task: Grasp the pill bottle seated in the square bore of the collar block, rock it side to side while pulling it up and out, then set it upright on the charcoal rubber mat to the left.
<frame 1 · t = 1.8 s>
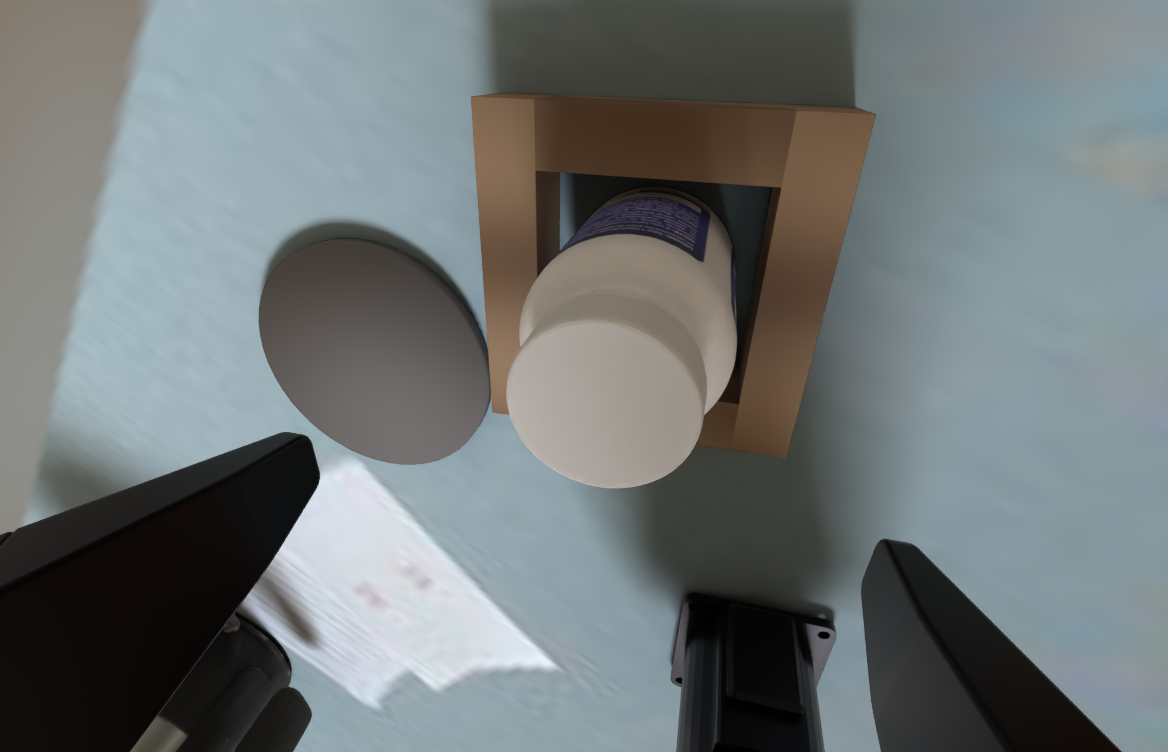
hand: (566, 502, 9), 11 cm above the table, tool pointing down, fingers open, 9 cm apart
collar block: (654, 268, 18), on the table
mat: (378, 358, 23), on the table
pill bottle: (654, 265, 18), resting in collar block
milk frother: (224, 606, 36), on the table
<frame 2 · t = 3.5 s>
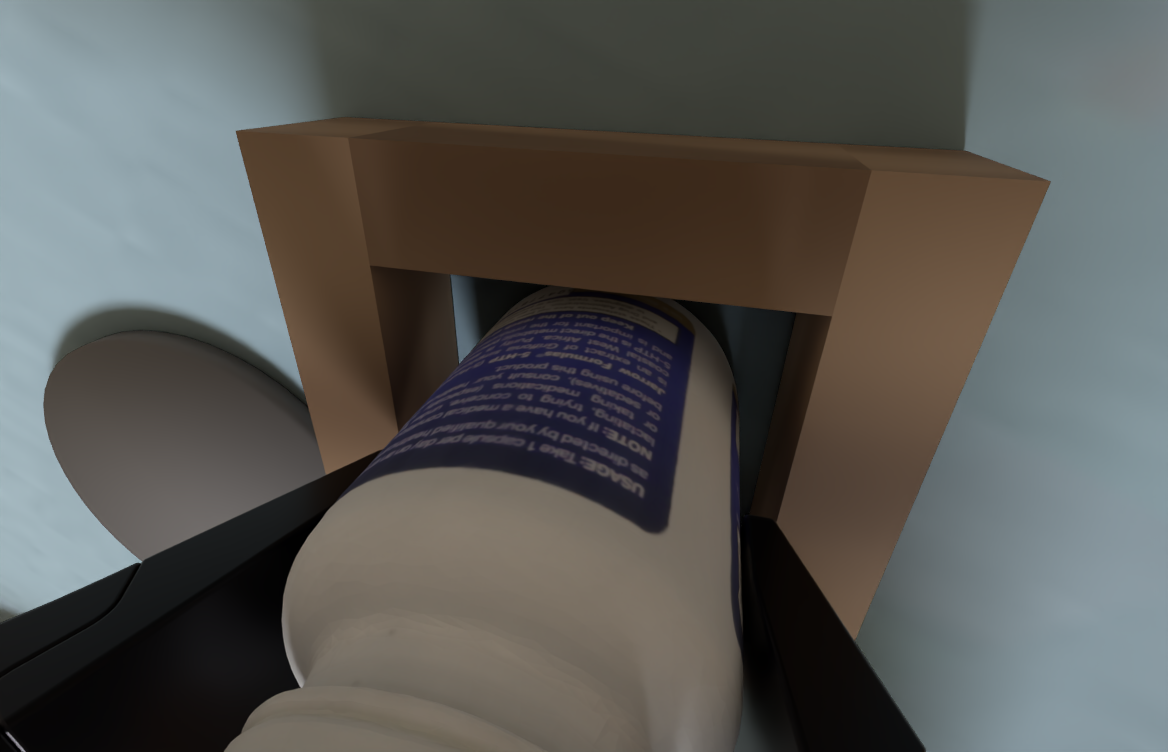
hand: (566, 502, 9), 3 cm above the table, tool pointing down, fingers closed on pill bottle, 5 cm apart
collar block: (606, 397, 11), on the table
mat: (223, 489, 16), on the table
pill bottle: (608, 392, 11), resting in collar block, touching gripper
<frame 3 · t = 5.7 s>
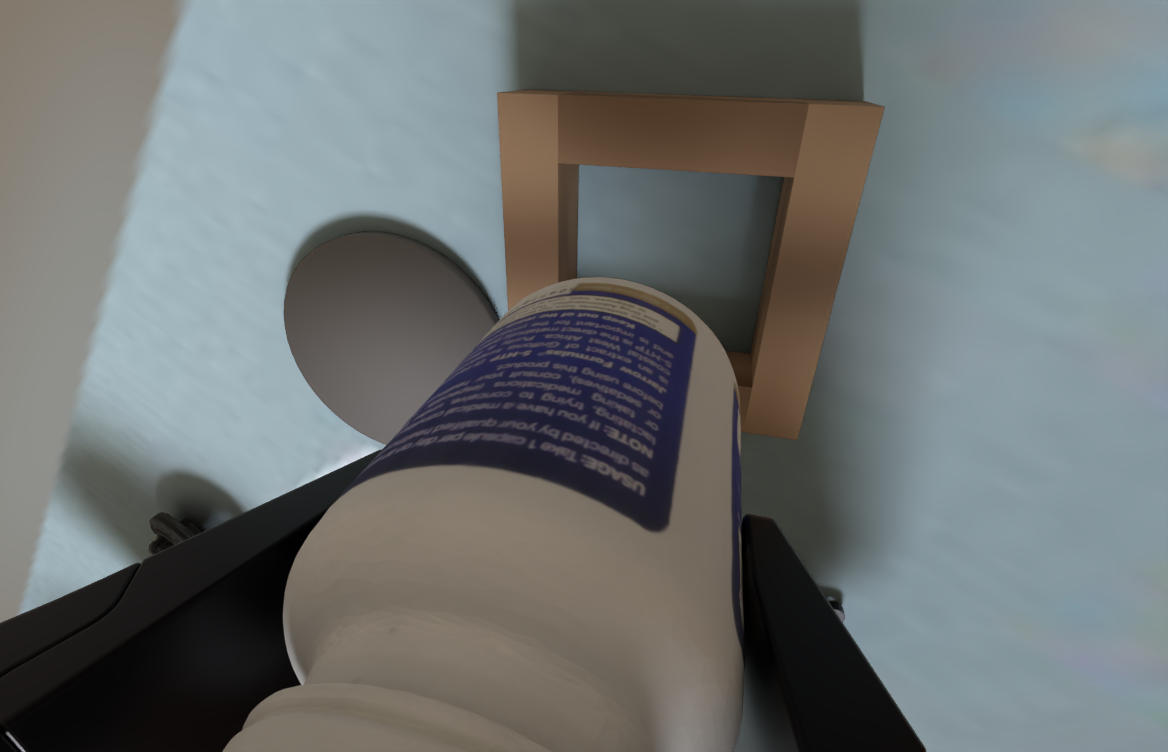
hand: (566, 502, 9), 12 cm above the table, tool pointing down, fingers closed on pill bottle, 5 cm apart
collar block: (668, 257, 19), on the table
mat: (399, 348, 24), on the table
pill bottle: (610, 391, 11), point 9 cm above the table, touching gripper
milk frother: (239, 593, 37), on the table
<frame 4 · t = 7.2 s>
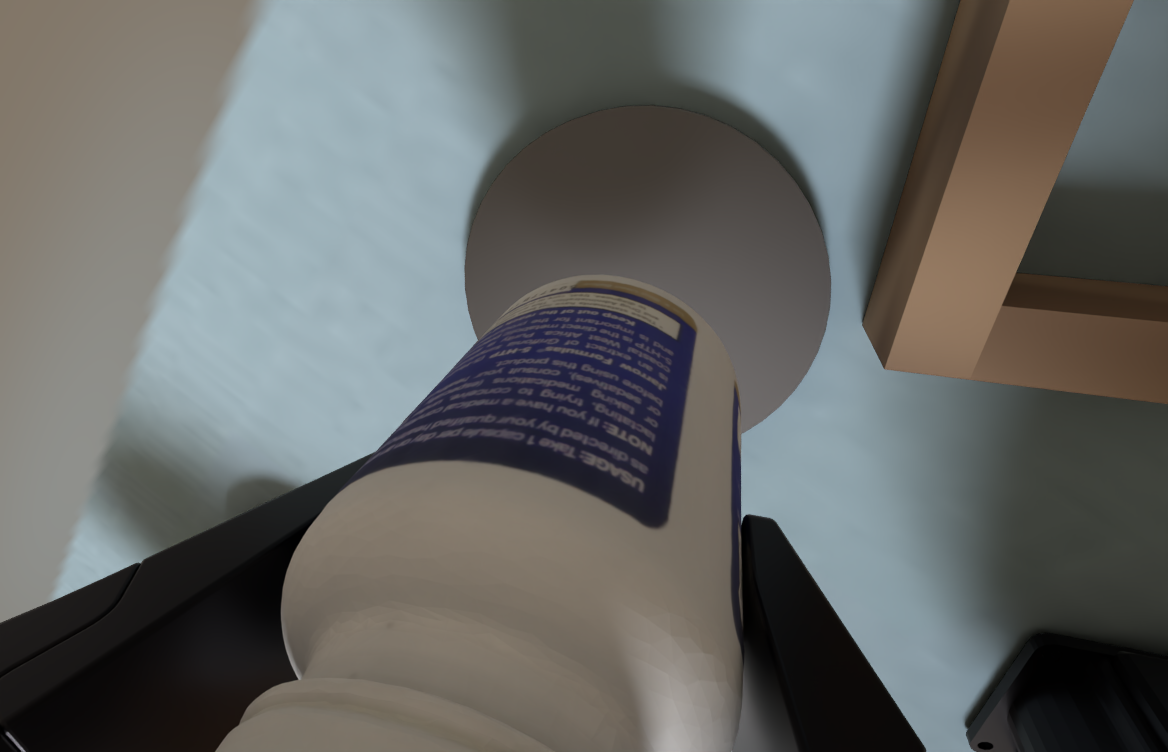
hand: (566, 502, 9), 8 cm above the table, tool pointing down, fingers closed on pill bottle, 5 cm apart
mat: (637, 300, 16), on the table
pill bottle: (610, 389, 11), point 5 cm above the table, touching gripper
when the fingers open (5 cm above the table, at t = 8.2 s): pill bottle drops 1 cm, resting on mat.
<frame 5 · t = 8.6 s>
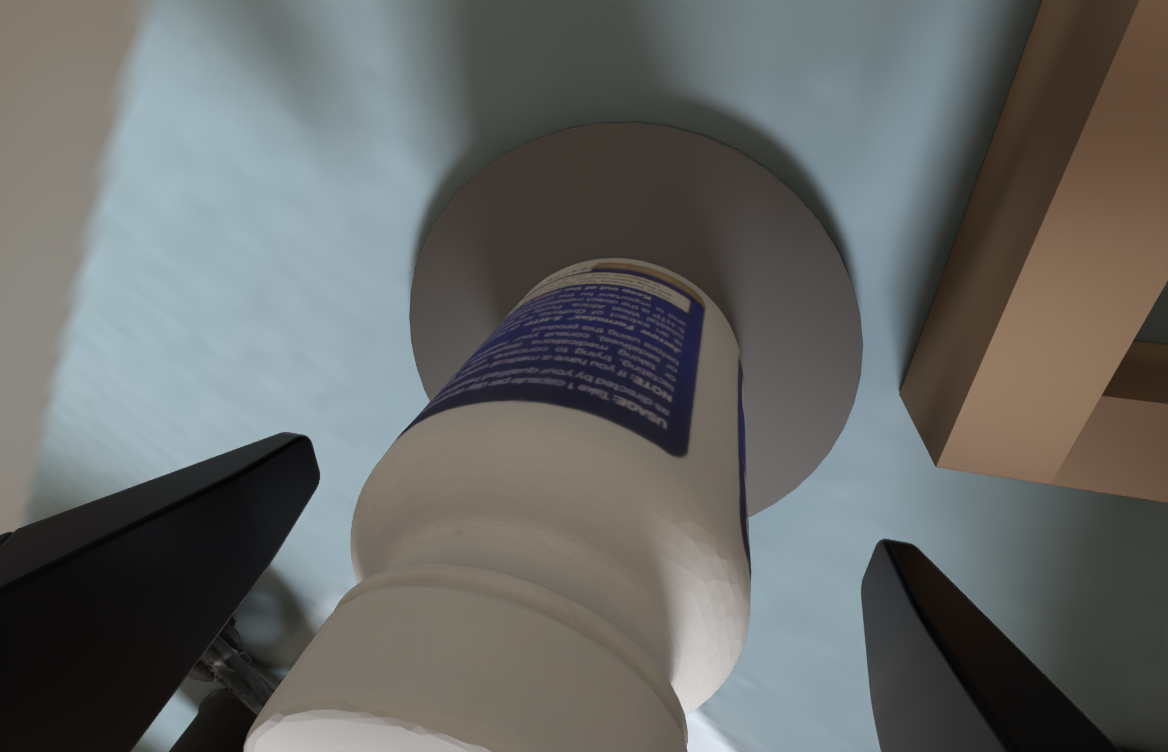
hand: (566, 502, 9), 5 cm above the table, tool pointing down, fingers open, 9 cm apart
mat: (620, 357, 13), on the table
pill bottle: (623, 366, 12), resting on mat
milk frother: (277, 694, 26), on the table
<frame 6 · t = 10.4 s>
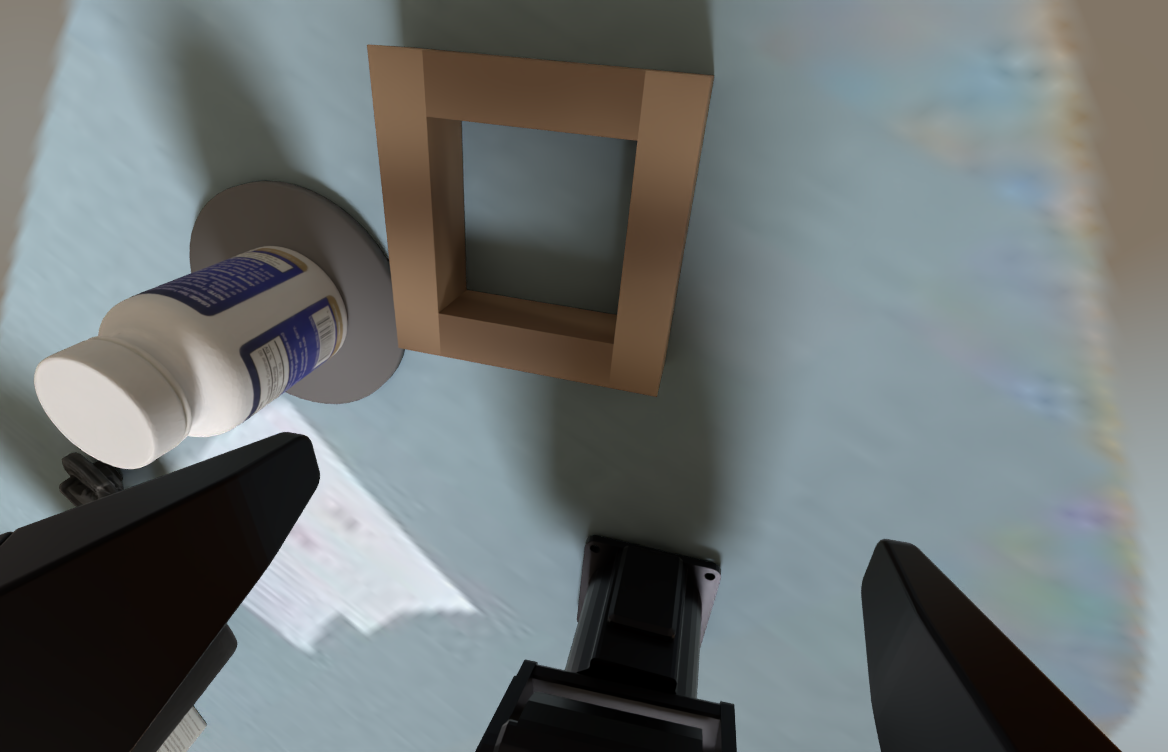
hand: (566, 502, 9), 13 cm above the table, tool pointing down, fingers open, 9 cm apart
collar block: (547, 219, 20), on the table
mat: (303, 299, 24), on the table
pill bottle: (299, 303, 24), resting on mat
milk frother: (158, 540, 37), on the table
skincare box: (161, 694, 49), on the table
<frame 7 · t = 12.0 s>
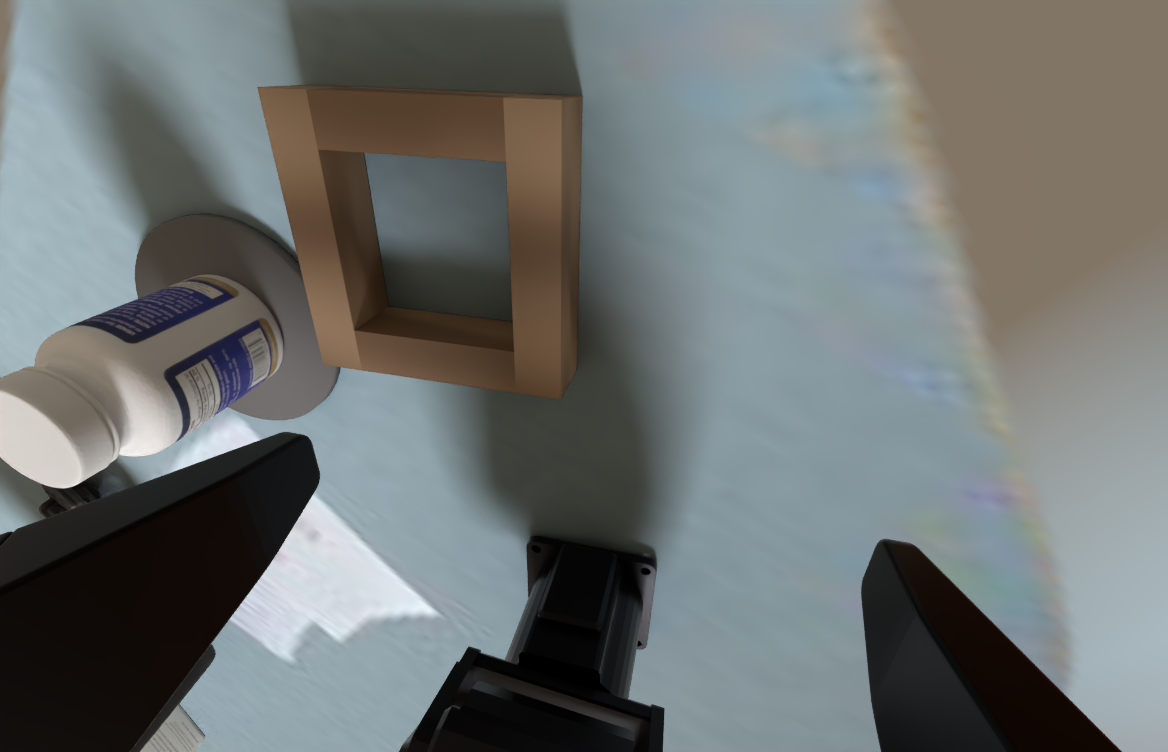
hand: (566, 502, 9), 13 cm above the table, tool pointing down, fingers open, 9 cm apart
collar block: (452, 237, 21), on the table
mat: (243, 322, 26), on the table
pill bottle: (239, 326, 25), resting on mat
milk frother: (140, 557, 39), on the table
skincare box: (160, 708, 51), on the table
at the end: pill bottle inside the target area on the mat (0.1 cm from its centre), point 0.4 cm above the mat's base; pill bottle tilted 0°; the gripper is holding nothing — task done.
